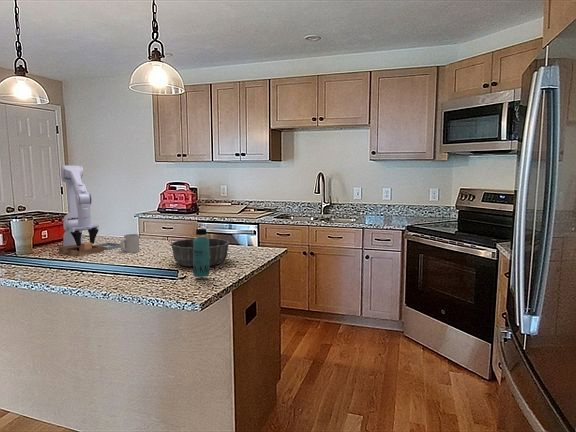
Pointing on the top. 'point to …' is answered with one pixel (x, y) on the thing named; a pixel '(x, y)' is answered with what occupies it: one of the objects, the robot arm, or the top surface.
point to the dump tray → (113, 245)
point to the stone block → (85, 246)
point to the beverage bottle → (201, 254)
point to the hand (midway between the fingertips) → (85, 244)
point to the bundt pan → (185, 251)
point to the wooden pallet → (80, 253)
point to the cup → (130, 243)
